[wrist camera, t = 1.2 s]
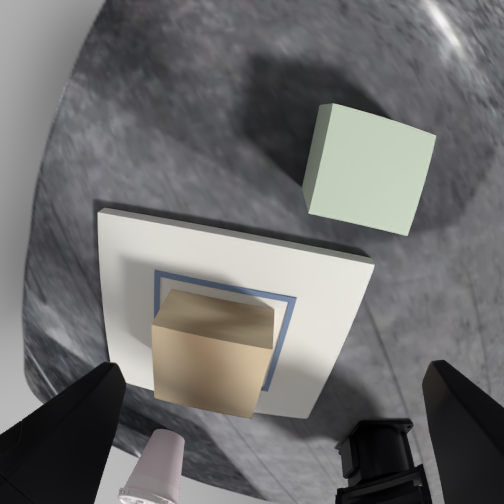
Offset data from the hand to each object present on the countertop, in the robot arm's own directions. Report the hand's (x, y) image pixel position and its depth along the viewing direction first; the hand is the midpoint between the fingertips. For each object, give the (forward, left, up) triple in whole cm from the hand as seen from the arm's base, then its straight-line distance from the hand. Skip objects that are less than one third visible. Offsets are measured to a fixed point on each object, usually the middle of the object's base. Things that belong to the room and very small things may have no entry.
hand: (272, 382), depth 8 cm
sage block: (-3, -5, -13) cm, 14 cm away
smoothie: (+7, +27, -13) cm, 31 cm away
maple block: (+3, +9, -12) cm, 15 cm away
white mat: (+3, +9, -13) cm, 16 cm away
